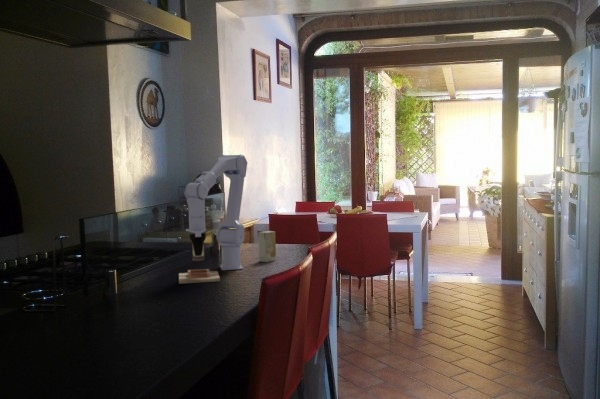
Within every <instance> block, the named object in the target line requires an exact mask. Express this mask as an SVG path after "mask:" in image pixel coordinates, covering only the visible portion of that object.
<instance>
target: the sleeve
mask: <svg viewBox="0 0 600 399" xmlns="http://www.w3.org/2000/svg"><path fill="white" fill-rule="evenodd" d="M191 244H192V261H193V262H194V261H195V262H200V261H205V246H204V245H205V243H204V244H203V249H202V255H201V256H195V252H194V247H193V243H192V242H191Z"/></svg>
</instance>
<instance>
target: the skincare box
mask: <svg viewBox="0 0 600 399" xmlns="http://www.w3.org/2000/svg"><path fill="white" fill-rule="evenodd" d="M276 242H277V241H276V231H274V230H273V231H272V230H267V231H265V230H264V231H259V232H258V261H259V262H263V263H269V262H273V261H276V260H277V255H276V254H277V253H276V252H277V250H276Z"/></svg>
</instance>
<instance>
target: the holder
mask: <svg viewBox="0 0 600 399" xmlns="http://www.w3.org/2000/svg"><path fill="white" fill-rule="evenodd" d="M220 281H221V277H220V275H219V272H218V270H210V269H209V268H206V269H205V268H203V269H187V272H179V273H178V284H195V283H196V284H197V283H198V284H199V283H211V282H214V283H215V282H220Z"/></svg>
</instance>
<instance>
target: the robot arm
mask: <svg viewBox="0 0 600 399" xmlns="http://www.w3.org/2000/svg"><path fill="white" fill-rule="evenodd" d="M247 170H248V161H247V159H246V156H245V155H244V154H229V155H228V154H221V155H220V156H219V157H217V162H216V163H215V165H213V167H212V168H211V169H210V170H209V171H208V170H205V171H202V172H201V175H200V176H198V177H197V178H196V179H195V180H194V181H193V182H188V184H187V185H186V186H185V188H184V190H183V193H184V196H185V199H186V203H187V205H188V228H186V229H185V232H189V233H191V234H189V239H190V241H191V244H192V243H193V247H194V252H195V256H201V255H202V249H203V244H204V245H205V240H206V238H207V236H206V233H205V232H206V231H207V228H206V206H205V205H206V202H205V201H206V198H207V197H208V195H209V192H210V189H212V187H213V186H215V184H216V183H217V178H219V177H220V176H221V175H224V176H225V177H226V178H228V179H229V181H230V183H229V190H228V198H227V206H226V212H225V219H224V220H223V221H222V222H220V223H219V226H218V230H217V232H216V242H218V244H219V247H221V264H219V266H220V269H221V271H231V270H232V271H233V270H243V265H242V264H241V263H242V262H241V246H242V244H243V243H244V241H245V236H246V234H245V226H244V225H243V224H242V223H241V221H240V214H241V207H242V199H243V192H244V182H245V178H246V176H247Z"/></svg>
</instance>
